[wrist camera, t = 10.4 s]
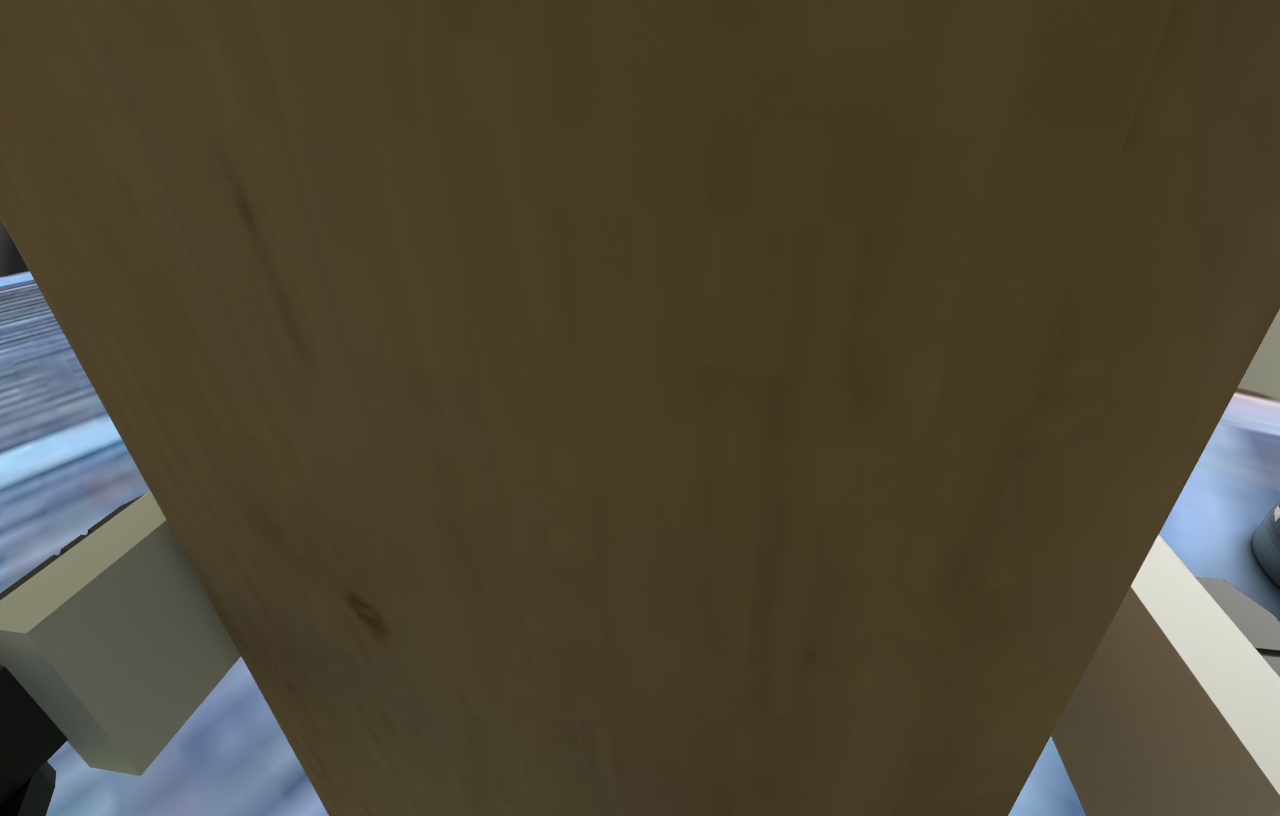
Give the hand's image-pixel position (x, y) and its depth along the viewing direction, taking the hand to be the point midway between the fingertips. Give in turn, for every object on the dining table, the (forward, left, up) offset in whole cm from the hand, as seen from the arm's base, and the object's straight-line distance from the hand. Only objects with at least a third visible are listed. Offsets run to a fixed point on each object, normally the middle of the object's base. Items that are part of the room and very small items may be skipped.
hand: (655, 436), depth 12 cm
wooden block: (0, +2, -11) cm, 11 cm away
